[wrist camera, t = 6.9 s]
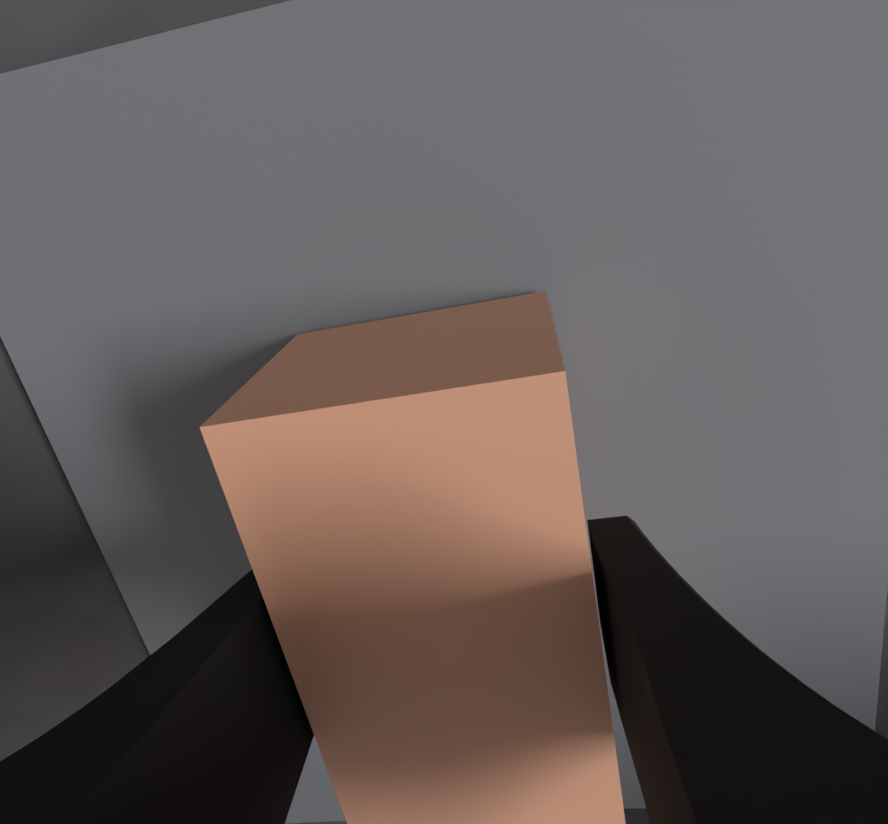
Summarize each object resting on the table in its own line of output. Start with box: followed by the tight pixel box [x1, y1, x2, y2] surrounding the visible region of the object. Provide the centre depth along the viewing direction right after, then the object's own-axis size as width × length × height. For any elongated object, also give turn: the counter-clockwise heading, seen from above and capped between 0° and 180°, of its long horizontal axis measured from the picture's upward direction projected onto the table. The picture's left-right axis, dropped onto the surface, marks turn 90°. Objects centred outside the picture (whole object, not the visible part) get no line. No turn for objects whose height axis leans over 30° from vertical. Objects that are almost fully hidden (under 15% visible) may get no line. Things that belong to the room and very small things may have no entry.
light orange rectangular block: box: [200, 291, 626, 824], centre depth 11 cm, size 8×4×4 cm, turn 11°
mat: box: [0, 0, 888, 824], centre depth 13 cm, size 16×18×1 cm
